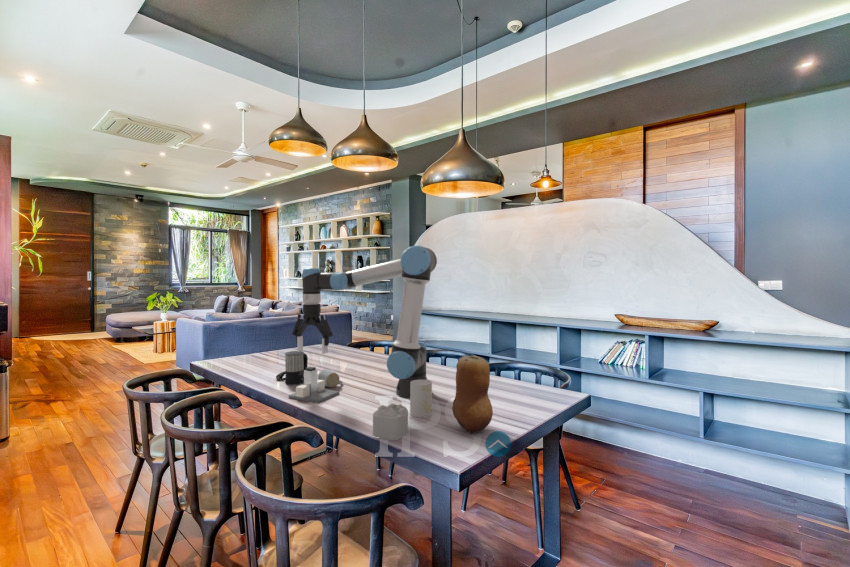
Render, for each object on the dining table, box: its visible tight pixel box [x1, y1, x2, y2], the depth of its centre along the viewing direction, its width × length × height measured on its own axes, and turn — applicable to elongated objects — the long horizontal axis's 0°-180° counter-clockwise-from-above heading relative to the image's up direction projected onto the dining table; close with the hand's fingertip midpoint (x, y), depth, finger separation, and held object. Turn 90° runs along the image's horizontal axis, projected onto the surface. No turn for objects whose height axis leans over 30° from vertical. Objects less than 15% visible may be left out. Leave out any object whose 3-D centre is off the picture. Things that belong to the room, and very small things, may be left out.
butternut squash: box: [452, 355, 494, 434], centre depth 140 cm, size 14×13×25 cm
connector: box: [303, 366, 318, 394], centre depth 181 cm, size 4×4×11 cm
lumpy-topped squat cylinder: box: [372, 403, 409, 441], centre depth 139 cm, size 10×13×9 cm
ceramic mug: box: [317, 368, 343, 389], centre depth 197 cm, size 11×8×8 cm
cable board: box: [288, 379, 340, 404], centre depth 181 cm, size 16×14×5 cm
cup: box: [409, 379, 433, 418], centre depth 157 cm, size 8×8×12 cm
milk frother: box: [275, 350, 309, 385], centre depth 206 cm, size 14×16×15 cm
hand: (312, 352), depth 182 cm, fingers open, 13 cm apart
